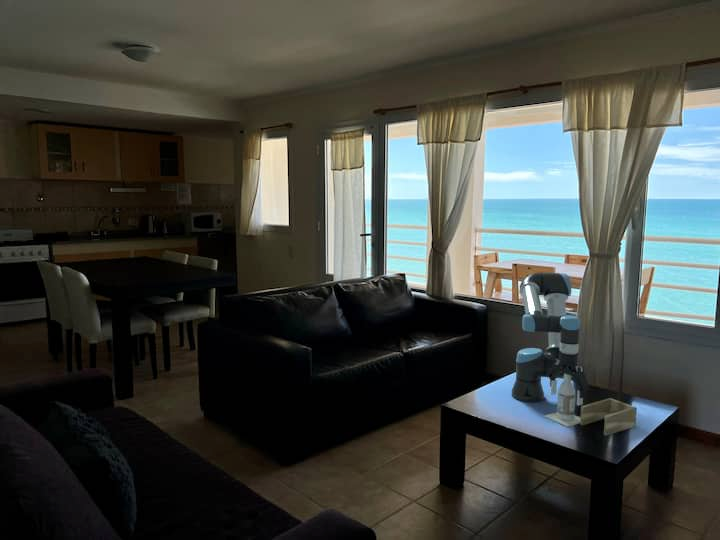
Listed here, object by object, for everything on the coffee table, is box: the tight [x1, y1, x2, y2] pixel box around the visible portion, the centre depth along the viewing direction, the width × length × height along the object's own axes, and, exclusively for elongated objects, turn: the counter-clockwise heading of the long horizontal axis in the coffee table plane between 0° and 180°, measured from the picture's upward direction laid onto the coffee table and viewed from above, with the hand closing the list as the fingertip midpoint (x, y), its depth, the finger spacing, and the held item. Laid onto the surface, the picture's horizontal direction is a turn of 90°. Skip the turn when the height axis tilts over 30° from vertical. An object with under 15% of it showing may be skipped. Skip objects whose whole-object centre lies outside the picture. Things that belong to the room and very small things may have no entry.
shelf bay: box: [579, 397, 638, 436], centre depth 217 cm, size 12×19×8 cm, turn 119°
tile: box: [544, 411, 581, 428], centre depth 224 cm, size 12×12×1 cm
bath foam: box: [556, 373, 576, 421], centre depth 222 cm, size 7×7×20 cm
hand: (566, 399), depth 223 cm, fingers open, 13 cm apart
